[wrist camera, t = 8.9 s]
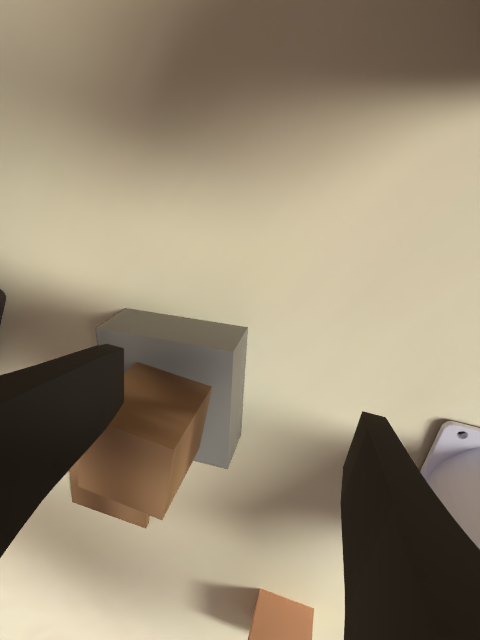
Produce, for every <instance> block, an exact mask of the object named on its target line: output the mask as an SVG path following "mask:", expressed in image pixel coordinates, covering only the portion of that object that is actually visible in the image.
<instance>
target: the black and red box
mask: <svg viewBox="0 0 480 640" xmlns="http://www.w3.org/2000/svg"><path fill="white" fill-rule="evenodd" d="M5 301H6V295H5V293H4V292H3V291H2V290H1V289H0V324H1V319H2V315H3V310H4V306H5Z"/></svg>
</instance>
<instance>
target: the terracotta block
mask: <svg viewBox="0 0 480 640" xmlns="http://www.w3.org/2000/svg"><path fill="white" fill-rule="evenodd" d="M313 614H314V608H311V607H308V606H306V605H303V604H300V603H298V602H295V601H292V600H289V599H287V598H284V597H281V596H279V595H276V594H273V593H271V592H268V591H265V590H263V589H260V591H259V595H258V599H257V602H256V606H255V610H254V613H253V617H252V621H251V626H250V631H249V636H248V640H312V629H313Z"/></svg>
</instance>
